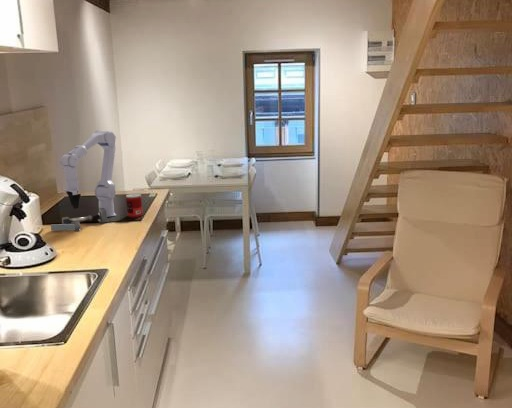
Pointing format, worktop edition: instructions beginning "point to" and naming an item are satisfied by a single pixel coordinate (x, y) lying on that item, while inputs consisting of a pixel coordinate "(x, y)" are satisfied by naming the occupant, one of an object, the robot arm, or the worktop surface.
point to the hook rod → (75, 219)
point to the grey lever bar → (65, 226)
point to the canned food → (134, 205)
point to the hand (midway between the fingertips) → (74, 206)
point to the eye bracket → (103, 216)
